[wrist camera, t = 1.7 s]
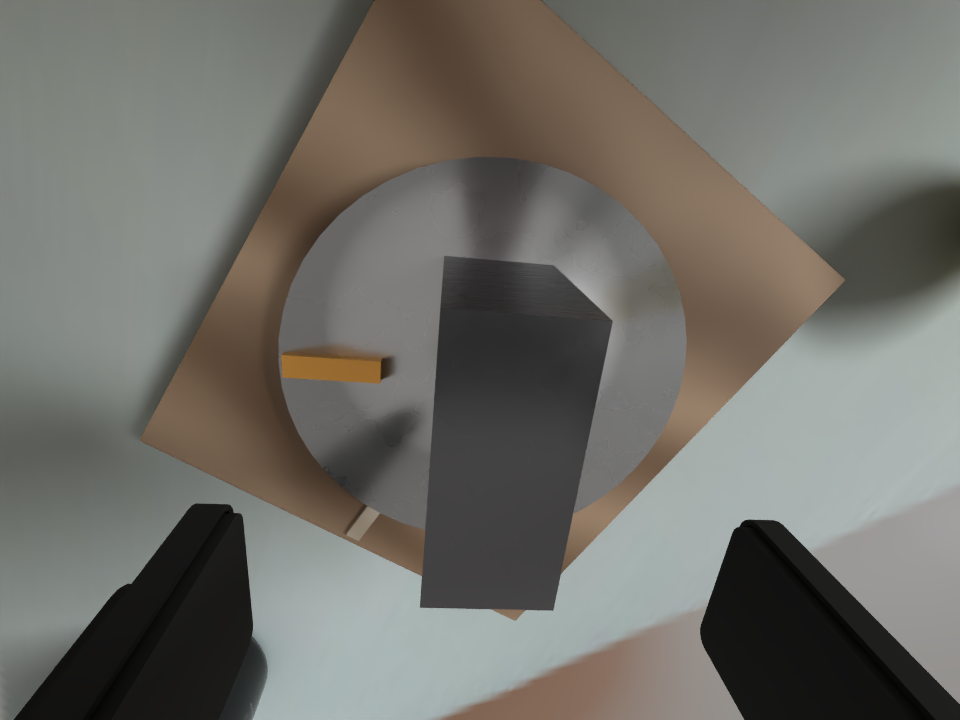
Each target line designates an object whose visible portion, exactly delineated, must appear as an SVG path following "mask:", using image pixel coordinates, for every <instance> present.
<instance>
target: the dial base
mask: <svg viewBox="0 0 960 720" xmlns="http://www.w3.org/2000/svg"><path fill="white" fill-rule="evenodd" d="M474 157H499V158H514V159H520V160H525V161H531V162H536V163H542V164H545V165H548V166H551V167H554V168H557V169H560V170H563V171H566V172H569V173H571V174H573V175H575V176H577V177H579V178H581V179H583V180H585V181H587V182H589V183H591V184H593V185H595V186H597V187H598V188H600V189H601V190H602V191H604V192H605V193H607V194H608V195H610V196H611V197H612V198H614V199H615V200H617V201H618V202H619V203H621V204H622V205H623V206H624V207H625V208H626V209H627V210H628V211H629V212H630V213H631V214H632V215H633V216H634V217H635V218H636V219H637V220H638V221H640V222H641V224H642V225H643V226H644V228H645V229H646V230H647V231H648V233H649V234H650V235H651V237H652V238H653V239H654V241H655V242H656V243H657V245H658V246H659V248H660V250H661V252H662V253H663V255H664V257H665V259H666V261H667V262H668V264H669V266H670V268H671V271H672V273H673V276H674V279H675V281H676V284H677V286H678V289H679V292H680V296H681V301H682V305H683V310H684V315H685V325H686V339H687V344H686V359H685V368H684V373H683V378H682V383H681V388H680V391H679V394H678V397H677V400H676V403H675V405H674V408H673V411H672V413H671V415H670V417H669V419H668V421H667V423H666V425H665V427H664V429H663V431H662V433H661V435H660V436H659V438H658V439H657V441H656V442H655V444H654V445H653V447H652V448H651V450H650V451H649V453H648V454H647V455H646V456H645V457H644V459H643V460H642V461H641V462H640V463H639V465H638V466H637V467H636V468H635V469H634V470H633V471H632V472H631V473H630V474H629V475H628V476H627V477H626V478H625V479H624V480H623V481H622V482H621V483H620V484H618V485H617V486H616V487H615V488H613V489H612V490H611V491H609V492H608V493H607V494H605V495H604V496H603V497H601V498H600V499H599V500H597V501H595V502H594V503H592V504H590V505H589V506H587V507H585V508H584V509H582V510H580V511H578V512H576V513H574V514H573V517H572V522H571V527H570V531H569V536H568V541H567V546H566V551H565V556H564V560H563V565H562V570H561V573H562V572H563V571H564V570H565V569H566V568H567V567H568V566H569V565H570V564H571V563H572V562H573V561H574V560H575V559H576V558H577V557H578V556H579V555H580V553H581V552H582V551H583V550H584V549H585V548H586V547H587V546H588V545H589V544H590V543H591V542H592V541H593V540H594V539H595V538H596V537H597V536H598V535H599V534H600V533H601V532H602V531H603V530H604V529H605V528H606V527H607V526H608V525H609V524H610V523H611V521H612V520H613V519H614V518H615V517H616V516H617V515H618V514H619V513H620V512H621V511H622V510H623V509H624V508H625V507H626V506H627V505H628V504H629V503H630V502H631V501H632V500H633V499H634V498H635V497H636V496H637V495H638V494H639V493H640V492H641V491H642V489H643V488H644V487H645V486H646V485H647V484H648V483H649V482H650V481H651V480H652V479H653V478H654V477H655V476H656V475H657V474H658V473H659V472H660V471H661V470H662V469H663V468H664V467H665V466H666V465H667V464H668V463H669V462H670V461H671V460H672V459H673V458H674V456H675V455H676V454H677V453H678V452H679V451H680V450H681V449H682V448H683V447H684V446H685V445H686V444H687V443H688V442H689V441H690V440H691V439H692V438H693V437H694V436H695V435H696V434H697V433H698V432H699V431H700V430H701V429H702V428H703V427H704V426H705V424H706V423H707V422H708V421H709V420H710V419H711V418H712V417H713V416H714V415H715V414H716V413H717V412H718V411H719V410H720V409H721V408H722V407H723V406H724V405H725V404H726V403H727V402H728V401H729V400H730V399H731V398H732V397H733V396H734V395H735V394H736V392H737V391H738V390H739V389H740V388H741V387H742V386H743V385H744V384H745V383H746V382H747V381H748V380H749V379H750V378H751V377H752V376H753V375H754V374H755V373H756V372H757V371H758V370H759V369H760V368H761V367H762V366H763V365H764V364H765V363H766V362H767V360H768V359H769V358H770V357H771V356H772V355H773V354H774V353H775V352H776V351H777V350H778V349H779V348H780V347H781V346H782V345H783V344H784V343H785V342H786V341H787V340H788V339H789V338H790V337H791V336H792V335H793V334H794V333H795V332H796V331H797V330H798V329H799V327H800V326H801V325H802V324H803V323H804V322H805V321H806V320H807V319H808V318H809V317H810V316H811V315H812V314H813V313H814V312H815V311H816V310H817V309H818V308H819V307H820V306H821V305H822V304H823V303H824V302H825V301H826V300H827V299H828V298H829V297H830V295H831V294H832V293H833V292H834V291H835V290H836V289H837V288H838V287H839V286H840V285H841V284H842V283H843V282H844V281H845V279H844V278H843V277H842V276H841V275H839V274H838V273H837V272H836V271H835V270H834V269H833V268H832V267H831V266H830V265H829V264H828V263H826V262H825V261H824V260H823V259H822V258H821V257H820V256H819V255H818V254H817V253H816V252H814V251H813V250H812V249H811V248H810V247H809V246H808V245H807V244H806V243H805V242H804V241H802V240H801V239H800V238H799V237H798V236H797V235H796V234H795V233H794V232H793V231H792V230H790V229H789V228H788V227H787V226H786V225H785V224H784V223H783V222H782V221H781V220H780V219H779V218H777V217H776V216H775V215H774V214H773V213H772V212H771V211H770V210H769V209H768V208H767V207H765V206H764V205H763V204H762V203H761V202H760V201H759V200H758V199H757V198H756V197H755V196H753V195H752V194H751V193H750V192H749V191H748V190H747V189H746V188H745V187H744V186H743V185H741V184H740V183H739V182H738V181H737V180H736V179H735V178H734V177H733V176H732V175H731V174H730V173H728V172H727V171H726V170H725V169H724V168H723V167H722V166H721V165H720V164H719V163H718V162H716V161H715V160H714V159H713V158H712V157H711V156H710V155H709V154H708V153H707V152H706V151H704V150H703V149H702V148H701V147H700V146H699V145H698V144H697V143H696V142H695V141H694V140H692V139H691V138H690V137H689V136H688V135H687V134H686V133H685V132H684V131H683V130H682V129H681V128H679V127H678V126H677V125H676V124H675V123H674V122H673V121H672V120H671V119H670V118H669V117H667V116H666V115H665V114H664V113H663V112H662V111H661V110H660V109H659V108H658V107H657V106H655V105H654V104H653V103H652V102H651V101H650V100H649V99H648V98H647V97H646V96H645V95H643V94H642V93H641V92H640V91H639V90H638V89H637V88H636V87H635V86H634V85H633V84H632V83H630V82H629V81H628V80H627V79H626V78H625V77H624V76H623V75H622V74H621V73H620V72H618V71H617V70H616V69H615V68H614V67H613V66H612V65H611V64H610V63H609V62H608V61H606V60H605V59H604V58H603V57H602V56H601V55H600V54H599V53H598V52H597V51H596V50H594V49H593V48H592V47H591V46H590V45H589V44H588V43H587V42H586V41H585V40H584V39H583V38H581V37H580V36H579V35H578V34H577V33H576V32H575V31H574V30H573V29H572V28H571V27H569V26H568V25H567V24H566V23H565V22H564V21H563V20H562V19H561V18H560V17H559V16H557V15H556V14H555V13H554V12H553V11H552V10H551V9H550V8H549V7H548V6H547V5H546V4H544V3H543V2H542V1H541V0H374V2H373V3H372V5H371V7H370V9H369V11H368V13H367V15H366V17H365V18H364V20H363V22H362V24H361V26H360V28H359V30H358V31H357V33H356V35H355V37H354V39H353V41H352V43H351V45H350V46H349V48H348V50H347V52H346V54H345V56H344V58H343V60H342V61H341V63H340V65H339V67H338V69H337V71H336V73H335V75H334V76H333V78H332V80H331V82H330V84H329V86H328V88H327V90H326V91H325V93H324V95H323V97H322V99H321V101H320V103H319V105H318V106H317V108H316V110H315V112H314V114H313V116H312V118H311V120H310V121H309V123H308V125H307V127H306V129H305V131H304V133H303V135H302V136H301V138H300V140H299V142H298V144H297V146H296V148H295V150H294V151H293V153H292V155H291V157H290V159H289V161H288V163H287V165H286V166H285V168H284V170H283V172H282V174H281V176H280V178H279V179H278V181H277V183H276V185H275V187H274V189H273V191H272V193H271V194H270V196H269V198H268V200H267V202H266V204H265V206H264V208H263V209H262V211H261V213H260V215H259V217H258V219H257V221H256V223H255V224H254V226H253V228H252V230H251V232H250V234H249V236H248V238H247V239H246V241H245V243H244V245H243V247H242V249H241V251H240V253H239V254H238V256H237V258H236V260H235V262H234V264H233V266H232V268H231V269H230V271H229V273H228V275H227V277H226V279H225V281H224V283H223V284H222V286H221V288H220V290H219V292H218V294H217V296H216V298H215V299H214V301H213V303H212V305H211V307H210V309H209V311H208V312H207V314H206V316H205V318H204V320H203V322H202V324H201V326H200V327H199V329H198V331H197V333H196V335H195V337H194V339H193V341H192V342H191V344H190V346H189V348H188V350H187V352H186V354H185V356H184V357H183V359H182V361H181V363H180V365H179V367H178V369H177V371H176V372H175V374H174V376H173V378H172V380H171V382H170V384H169V386H168V387H167V389H166V391H165V393H164V395H163V397H162V399H161V401H160V402H159V404H158V406H157V408H156V410H155V412H154V414H153V416H152V417H151V419H150V421H149V423H148V425H147V427H146V429H145V431H144V432H143V434H142V436H141V438H140V440H139V441H141V442H143V443H145V444H147V445H150V446H152V447H154V448H156V449H158V450H160V451H162V452H164V453H166V454H168V455H170V456H172V457H175V458H177V459H179V460H181V461H183V462H185V463H187V464H189V465H191V466H193V467H195V468H197V469H200V470H202V471H204V472H206V473H208V474H210V475H212V476H214V477H216V478H218V479H220V480H223V481H225V482H227V483H229V484H231V485H233V486H235V487H237V488H239V489H241V490H243V491H245V492H248V493H250V494H252V495H254V496H256V497H258V498H260V499H262V500H264V501H266V502H268V503H271V504H273V505H275V506H277V507H279V508H281V509H283V510H285V511H287V512H289V513H291V514H293V515H296V516H298V517H300V518H302V519H304V520H306V521H308V522H310V523H312V524H314V525H316V526H318V527H321V528H323V529H325V530H327V531H329V532H331V533H333V534H335V535H337V536H339V537H341V538H344V539H346V540H348V541H350V542H352V543H354V544H356V545H358V546H360V547H362V548H364V549H366V550H369V551H371V552H373V553H375V554H377V555H379V556H381V557H383V558H385V559H387V560H389V561H392V562H394V563H396V564H398V565H400V566H402V567H404V568H406V569H408V570H410V571H412V572H414V573H417V574H419V575H421V576H422V571H423V556H424V541H425V530H424V529H420V528H417V527H414V526H411V525H408V524H404V523H401V522H399V521H397V520H395V519H392V518H390V517H388V516H385V515H383V514H381V513H379V512H377V511H376V510H374V509H372V508H371V507H369V506H367V505H365V504H364V503H362V502H360V501H359V500H358V499H356V498H355V497H354V496H352V495H351V494H350V493H348V492H347V491H346V490H344V489H343V488H342V487H341V486H340V485H339V484H338V483H337V482H336V481H335V480H334V479H333V478H332V477H330V476H329V475H328V474H327V473H326V472H325V470H324V469H323V468H322V467H321V465H320V464H319V463H318V462H317V461H316V459H315V458H314V457H313V456H312V454H311V453H310V451H309V450H308V448H307V446H306V445H305V443H304V442H303V440H302V438H301V437H300V435H299V433H298V431H297V429H296V427H295V424H294V422H293V420H292V418H291V415H290V413H289V411H288V407H287V404H286V400H285V396H284V393H283V389H282V384H281V377H280V369H279V333H280V326H281V320H282V314H283V309H284V306H285V303H286V299H287V296H288V293H289V290H290V287H291V284H292V282H293V280H294V278H295V276H296V274H297V272H298V270H299V268H300V266H301V263H302V261H303V259H304V258H305V257H306V255H307V254H308V252H309V251H310V249H311V248H312V246H313V245H314V243H315V242H316V240H317V239H318V238H319V236H320V235H321V234H322V233H323V232H324V231H325V230H326V229H327V227H328V226H329V225H330V224H331V223H332V222H333V221H334V220H335V219H336V218H337V217H338V216H339V214H341V213H342V212H343V211H344V210H346V209H347V208H348V207H349V206H351V205H352V204H353V203H354V202H356V201H357V200H358V199H359V198H361V197H362V196H363V195H365V194H366V193H368V192H370V191H371V190H373V189H375V188H377V187H378V186H380V185H382V184H383V183H385V182H387V181H388V180H390V179H393V178H395V177H398V176H400V175H402V174H405V173H407V172H410V171H412V170H415V169H417V168H420V167H424V166H428V165H432V164H436V163H440V162H444V161H448V160H455V159H465V158H474ZM492 610H494V611H496V612H498V613H500V614H502V615H504V616H506V617H508V618H510V619H513V620H515V621H516V620H517V618H518V617H519V616H520V615H521V614H522V613H523V612H524V611H525V610H510V609H492Z"/></svg>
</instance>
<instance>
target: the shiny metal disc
mask: <svg viewBox="0 0 960 720" xmlns="http://www.w3.org/2000/svg"><path fill="white" fill-rule="evenodd" d="M686 344H687V339H686V325H685V315H684V310H683V305H682V301H681V296H680V292H679V289H678V286H677V284H676V281H675V279H674V276H673V273H672V271H671V268H670V266H669V264H668V262H667V261H666V259H665V257H664V255H663V253H662V252H661V250H660V248H659V246H658V245H657V243H656V242H655V241H654V239H653V238H652V237H651V235H650V234H649V233H648V231H647V230H646V229H645V228H644V226H643V225H642V224H641V222H640V221H638V220H637V219H636V218H635V217H634V216H633V215H632V214H631V213H630V212H629V211H628V210H627V209H626V208H625V207H624V206H623V205H622V204H621V203H619V202H618V201H617V200H615V199H614V198H612V197H611V196H610V195H608V194H607V193H605V192H604V191H602V190H601V189H600V188H598V187H597V186H595V185H593V184H591V183H589V182H587V181H585V180H583V179H581V178H579V177H577V176H575V175H573V174H571V173H569V172H566V171H563V170H560V169H557V168H554V167H551V166H548V165H545V164H542V163H536V162H531V161H525V160H520V159H514V158H499V157H474V158H465V159H455V160H448V161H444V162H440V163H436V164H432V165H428V166H424V167H420V168H417V169H415V170H412V171H410V172H407V173H405V174H402V175H400V176H398V177H395V178H393V179H390V180H388V181H387V182H385V183H383V184H382V185H380V186H378V187H377V188H375V189H373V190H371V191H370V192H368V193H366V194H365V195H363V196H362V197H361V198H359V199H358V200H357V201H356V202H354V203H353V204H352V205H351V206H349V207H348V208H347V209H346V210H344V211H343V212H342V213H341V214H339V216H338V217H337V218H336V219H335V220H334V221H333V222H332V223H331V224H330V225H329V226H328V227H327V229H326V230H325V231H324V232H323V233H322V234H321V235H320V236H319V238H318V239H317V240H316V242H315V243H314V245H313V246H312V248H311V249H310V251H309V252H308V254H307V255H306V257H305V258H304V259H303V261H302V263H301V266H300V268H299V270H298V272H297V274H296V276H295V278H294V280H293V282H292V284H291V287H290V290H289V293H288V296H287V299H286V303H285V306H284V309H283V314H282V320H281V326H280V333H279V369H280V377H281V384H282V389H283V393H284V396H285V400H286V404H287V407H288V411H289V413H290V415H291V418H292V420H293V422H294V424H295V427H296V429H297V431H298V433H299V435H300V437H301V438H302V440H303V442H304V443H305V445H306V446H307V448H308V450H309V451H310V453H311V454H312V456H313V457H314V458H315V459H316V461H317V462H318V463H319V464H320V465H321V467H322V468H323V469H324V470H325V472H326V473H327V474H328V475H329V476H330V477H332V478H333V479H334V480H335V481H336V482H337V483H338V484H339V485H340V486H341V487H342V488H343V489H344V490H346V491H347V492H348V493H350V494H351V495H352V496H354V497H355V498H356V499H358V500H359V501H360V502H362V503H364V504H365V505H367V506H369V507H371V508H372V509H374V510H376V511H377V512H379V513H381V514H383V515H385V516H388V517H390V518H392V519H395V520H397V521H399V522H401V523H404V524H408V525H411V526H414V527H417V528H420V529H424V530H425V541H424V556H423V571H422V586H421V600H420V608H465V609H510V610H553V609H554V604H555V599H556V594H557V590H558V585H559V580H560V575H561V570H562V565H563V560H564V556H565V551H566V546H567V541H568V536H569V531H570V527H571V522H572V517H573V514H574V513H576V512H578V511H580V510H582V509H584V508H585V507H587V506H589V505H590V504H592V503H594V502H595V501H597V500H599V499H600V498H601V497H603V496H604V495H605V494H607V493H608V492H609V491H611V490H612V489H613V488H615V487H616V486H617V485H618V484H620V483H621V482H622V481H623V480H624V479H625V478H626V477H627V476H628V475H629V474H630V473H631V472H632V471H633V470H634V469H635V468H636V467H637V466H638V465H639V463H640V462H641V461H642V460H643V459H644V457H645V456H646V455H647V454H648V453H649V451H650V450H651V448H652V447H653V445H654V444H655V442H656V441H657V439H658V438H659V436H660V435H661V433H662V431H663V429H664V427H665V425H666V423H667V421H668V419H669V417H670V415H671V413H672V411H673V408H674V405H675V403H676V400H677V397H678V394H679V391H680V388H681V383H682V378H683V373H684V368H685V359H686Z"/></svg>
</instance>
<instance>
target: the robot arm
mask: <svg viewBox="0 0 960 720" xmlns="http://www.w3.org/2000/svg"><path fill="white" fill-rule="evenodd" d="M252 631H253V620H252V609H251V598H250V588H249V577H248V567H247V556H246V545H245V535H244V524H243V517H242V515H241V514H240V513H233V509H232V507H231V505H228V504H194V505H192V506H191V507H190V508H189V509H188V511H187V512H186V513H185V515H184V516H183V517H182V519H181V520H180V521H179V523H178V524H177V525H176V526H175V528H174V529H173V530H172V532H171V533H170V534H169V536H168V537H167V538H166V540H165V541H164V542H163V543H162V545H161V546H160V547H159V549H158V550H157V551H156V553H155V554H154V555H153V557H152V558H151V559H150V560H149V562H148V563H147V564H146V566H145V567H144V568H143V570H142V571H141V572H140V574H139V575H138V576H137V577H136V579H135V580H134V581H133V583H132V584H126V585H124V586H123V587H121V588H119V589H118V590H117V591H116V592H115V593H114V594H113V595H112V596H111V597H110V599H109V600H108V601H107V602H106V604H105V605H104V606H103V608H102V609H101V610H100V611H99V613H98V614H97V615H96V616H95V618H94V619H93V620H92V621H91V623H90V624H89V625H88V626H87V628H86V629H85V630H84V632H83V633H82V634H81V635H80V637H79V638H78V639H77V640H76V642H75V643H74V644H73V645H72V647H71V648H70V649H69V651H68V652H67V653H66V654H65V656H64V657H63V658H62V659H61V661H60V662H59V663H58V664H57V666H56V667H55V668H54V670H53V671H52V672H51V673H50V675H49V676H48V677H47V678H46V680H45V681H44V682H43V683H42V685H41V686H40V687H39V688H38V690H37V691H36V692H35V694H34V695H33V696H32V697H31V699H30V700H29V701H28V702H27V704H26V705H25V706H24V707H23V709H22V710H21V711H20V713H19V714H18V715H17V716H16V718H15V719H14V720H219V718H220V716H221V713H222V711H223V708H224V706H225V704H226V701H227V699H228V696H229V694H230V691H231V689H232V687H233V684H234V682H235V679H236V677H237V674H238V672H239V670H240V667H241V665H242V662H243V660H244V657H245V655H246V653H247V650H248V647H249V645H250V641H251V637H252ZM700 634H701V640H702V644H703V646H704V648H705V650H706V652H707V654H708V655H709V657H710V659H711V661H712V662H713V664H714V666H715V668H716V670H717V671H718V673H719V675H720V677H721V679H722V680H723V682H724V684H725V686H726V688H727V689H728V691H729V693H730V695H731V696H732V698H733V700H734V702H735V704H736V705H737V707H738V709H739V711H740V712H741V714H742V716H743V718H744V720H960V704H959V703H958V702H957V701H956V700H955V699H954V698H953V697H952V696H951V695H950V694H949V693H948V692H947V691H946V690H945V689H944V688H943V687H942V686H941V685H940V684H939V683H938V682H937V681H936V680H935V679H934V678H933V677H932V676H931V675H930V674H929V673H928V672H927V671H926V670H925V669H924V668H923V667H922V666H921V665H920V664H919V663H918V662H917V661H916V660H915V659H914V658H913V657H912V656H911V655H910V654H909V652H908V651H907V650H905V648H904V647H903V646H902V645H901V644H900V643H899V642H898V641H897V640H896V639H895V638H894V637H893V636H892V635H891V634H890V633H888V631H887V630H886V629H885V628H884V627H883V626H882V625H881V624H880V623H879V622H878V621H877V620H876V619H875V618H874V617H873V616H872V615H871V614H870V613H869V612H868V611H867V610H866V609H865V608H864V607H863V606H862V605H861V604H860V603H859V602H858V601H857V600H856V599H855V598H854V597H853V596H852V595H851V594H850V593H849V592H848V591H847V590H846V589H845V588H844V587H843V586H842V585H841V584H840V582H838V581H837V579H835V577H834V576H833V575H832V574H831V573H830V572H828V570H827V569H826V568H825V567H824V566H823V565H822V564H821V563H820V562H819V561H818V560H817V559H816V558H815V557H814V556H813V555H812V554H811V553H810V552H809V551H808V550H807V549H806V548H805V547H804V546H803V545H802V544H801V543H800V542H799V541H798V540H797V539H796V538H795V537H794V536H793V535H792V534H791V533H790V532H789V531H788V530H787V529H786V528H785V527H784V526H783V525H782V524H781V523H779V522H777V521H774V520H745V521H743V522H742V523H741V525H740V527H737V528H736V529H734V531H733V533H732V536H731V539H730V542H729V545H728V548H727V551H726V554H725V557H724V559H723V562H722V565H721V568H720V571H719V574H718V577H717V580H716V583H715V586H714V589H713V592H712V594H711V597H710V600H709V603H708V606H707V609H706V613H705V615H704V618H703V621H702V624H701V628H700Z"/></svg>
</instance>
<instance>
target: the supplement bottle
mask: <svg viewBox="0 0 960 720" xmlns="http://www.w3.org/2000/svg"><path fill="white" fill-rule="evenodd" d="M267 672H268V668H267V661H266V658H265V655H264V652H263V650H262V648H261V647H260V645H259V644H258V643H257V642H256V640H255V639H254V638H253V637H251V641H250V645H249V647H248V650H247V653H246V655H245V657H244V660H243V662H242V665H241V667H240V670H239V672H238V674H237V677H236V679H235V682H234V684H233V687H232V689H231V691H230V694H229V696H228V699H227V701H226V704H225V706H224V708H223V711H222V713H221V716H220V718H219V720H252V719H253V717H254V714H255V711H256V709H257V706H258V703H259V700H260V698H261V695H262V692H263V689H264V687H265V683H266V679H267Z"/></svg>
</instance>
